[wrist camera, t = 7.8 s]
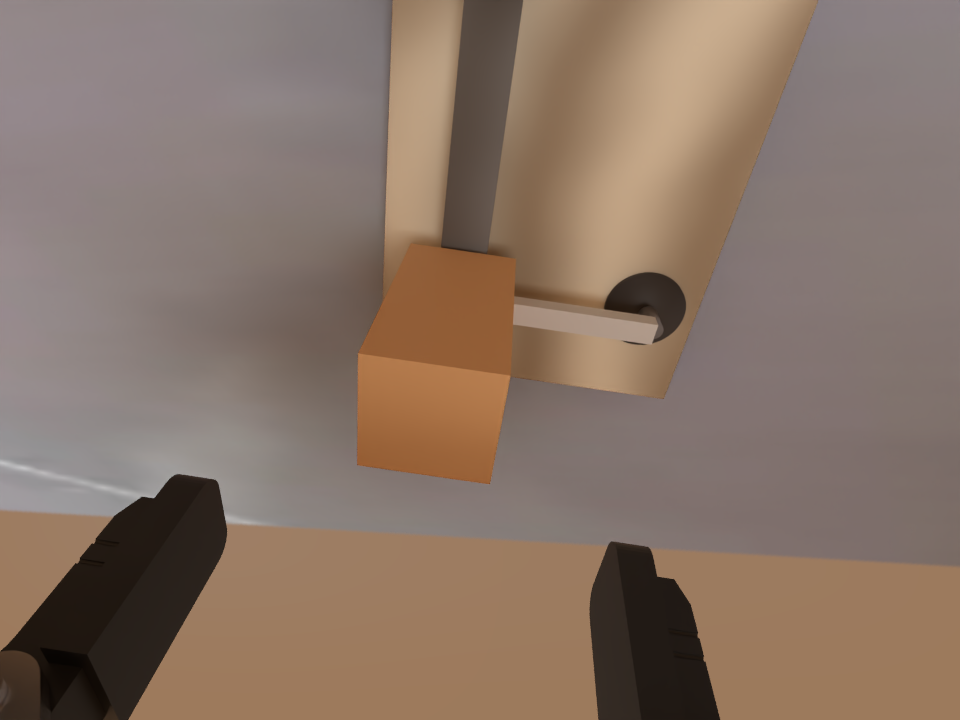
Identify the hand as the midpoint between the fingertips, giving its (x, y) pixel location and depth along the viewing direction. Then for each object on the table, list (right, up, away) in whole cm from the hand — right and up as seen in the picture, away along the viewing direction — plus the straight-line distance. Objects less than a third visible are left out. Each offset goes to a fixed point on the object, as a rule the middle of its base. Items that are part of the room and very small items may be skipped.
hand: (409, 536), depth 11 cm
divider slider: (+3, +6, +9) cm, 11 cm away
